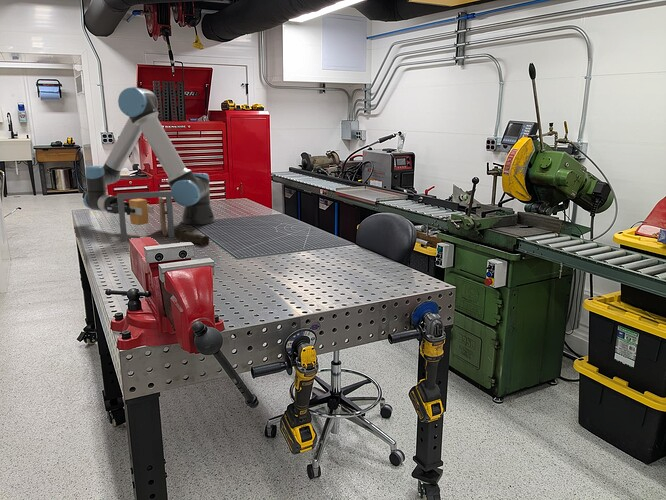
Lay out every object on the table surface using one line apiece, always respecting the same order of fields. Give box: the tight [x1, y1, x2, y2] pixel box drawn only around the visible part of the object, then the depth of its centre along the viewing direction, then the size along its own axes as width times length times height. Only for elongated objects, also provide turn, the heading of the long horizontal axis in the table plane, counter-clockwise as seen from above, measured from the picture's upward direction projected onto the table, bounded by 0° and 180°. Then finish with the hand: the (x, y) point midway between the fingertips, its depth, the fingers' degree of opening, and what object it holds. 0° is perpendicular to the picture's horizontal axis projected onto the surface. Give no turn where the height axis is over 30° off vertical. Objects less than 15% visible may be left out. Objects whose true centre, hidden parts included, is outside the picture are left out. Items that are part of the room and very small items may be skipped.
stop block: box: [128, 198, 149, 226], centre depth 210 cm, size 5×5×10 cm
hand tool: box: [174, 227, 210, 247], centre depth 202 cm, size 19×4×5 cm, turn 52°
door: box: [158, 197, 168, 236], centre depth 214 cm, size 14×3×14 cm, turn 23°
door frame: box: [116, 190, 175, 242], centre depth 203 cm, size 20×2×19 cm, turn 119°
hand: (147, 210), depth 207 cm, fingers closed on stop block, 5 cm apart
